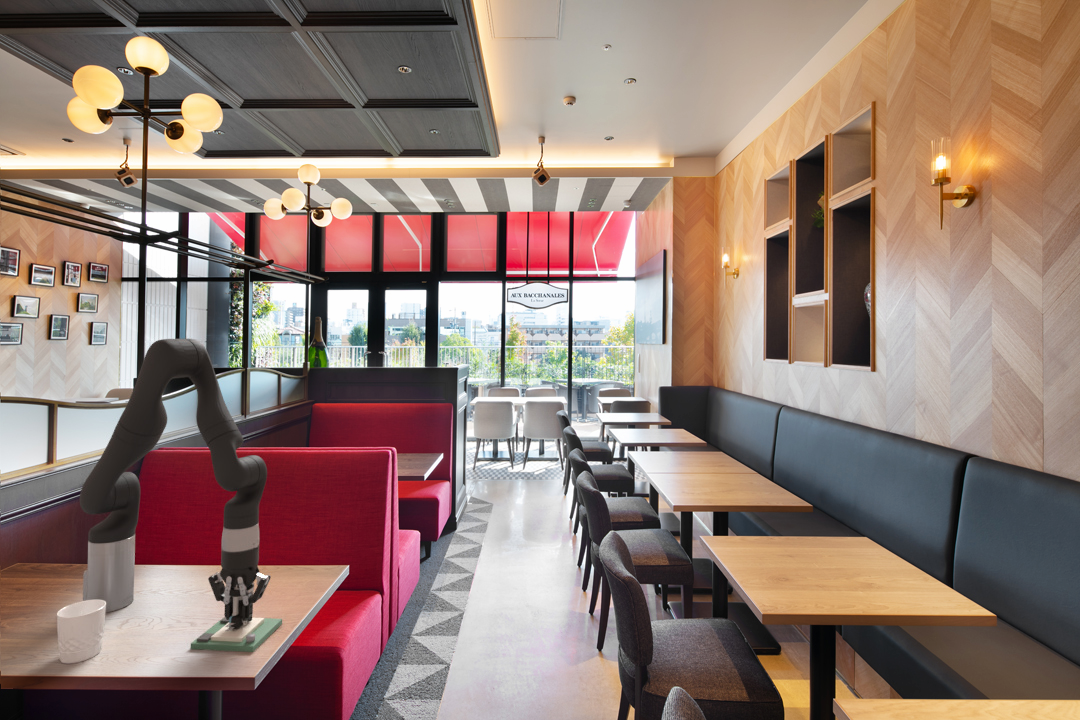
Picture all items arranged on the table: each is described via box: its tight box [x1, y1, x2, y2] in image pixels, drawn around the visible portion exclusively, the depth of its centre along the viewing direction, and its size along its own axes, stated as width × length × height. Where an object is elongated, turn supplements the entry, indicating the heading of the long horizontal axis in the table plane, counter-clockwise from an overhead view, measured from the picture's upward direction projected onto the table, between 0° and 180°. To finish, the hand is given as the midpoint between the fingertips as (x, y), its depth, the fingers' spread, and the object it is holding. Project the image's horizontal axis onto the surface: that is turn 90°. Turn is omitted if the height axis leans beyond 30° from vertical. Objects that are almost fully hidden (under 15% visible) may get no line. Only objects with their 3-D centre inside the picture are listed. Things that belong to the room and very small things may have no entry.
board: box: [190, 616, 283, 653], centre depth 120 cm, size 14×12×2 cm
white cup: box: [56, 600, 106, 664], centre depth 111 cm, size 8×8×10 cm
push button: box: [225, 584, 255, 631], centre depth 120 cm, size 7×5×10 cm
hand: (238, 618), depth 120 cm, fingers closed on push button, 3 cm apart
